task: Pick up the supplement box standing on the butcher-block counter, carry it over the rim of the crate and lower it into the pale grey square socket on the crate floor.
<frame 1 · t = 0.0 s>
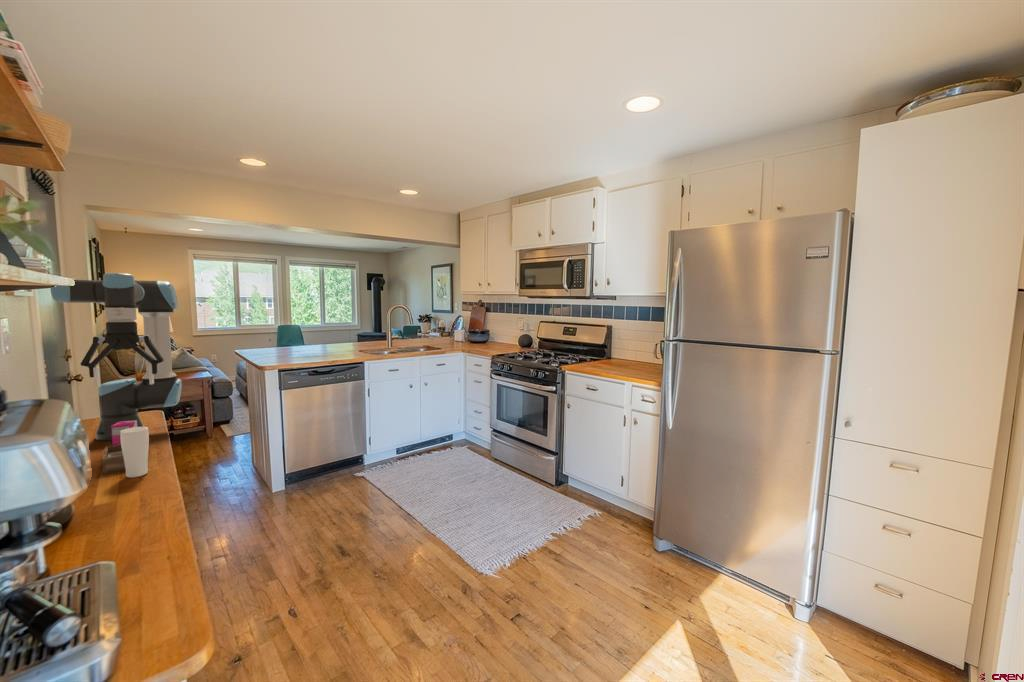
hand: (125, 385, 141), 28 cm above the worktop, tool pointing down, fingers open, 13 cm apart
supplement box: (126, 453, 158), on the worktop
white cup: (137, 475, 138), on the worktop
crate: (126, 463, 147), on the worktop
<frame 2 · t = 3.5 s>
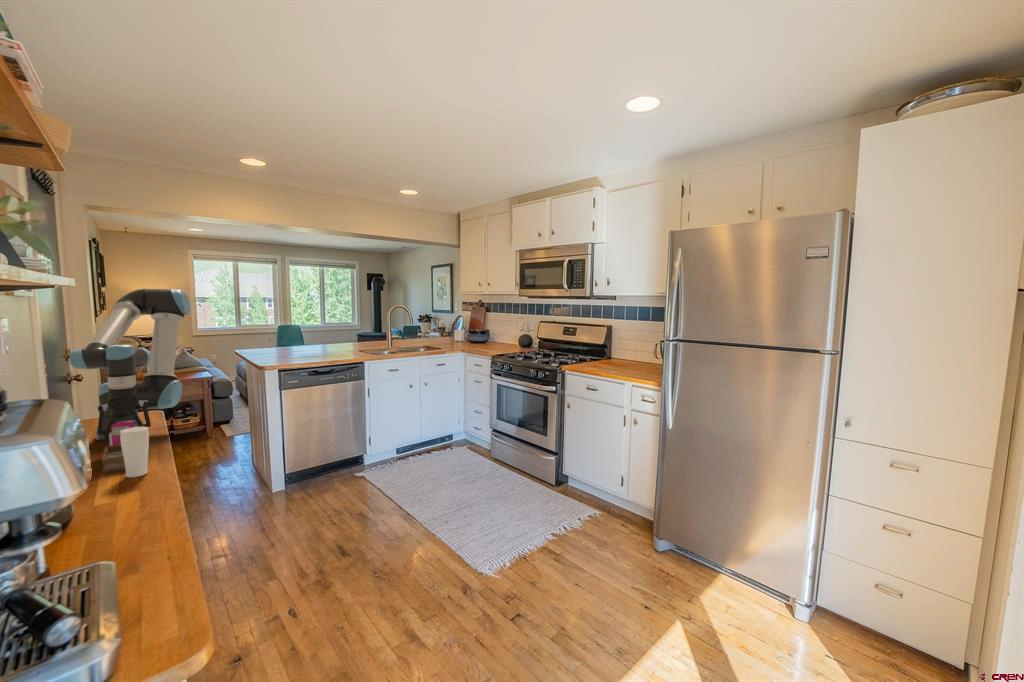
hand: (126, 448, 158), 2 cm above the worktop, tool pointing down, fingers closed on supplement box, 7 cm apart
supplement box: (126, 453, 158), on the worktop, touching gripper
everything else where it was.
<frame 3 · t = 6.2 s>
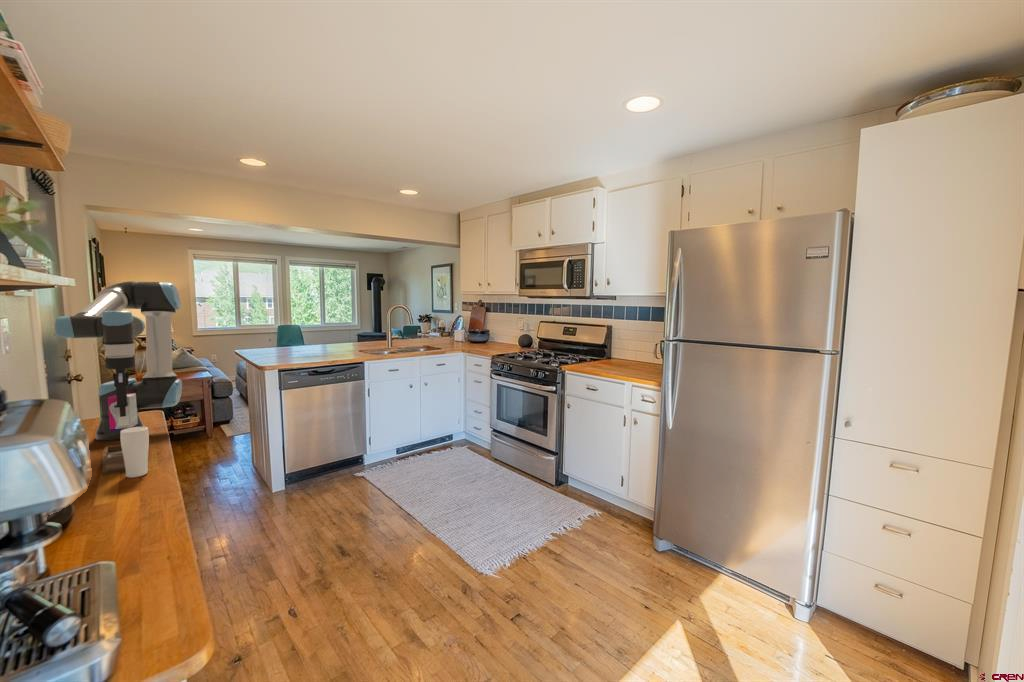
hand: (124, 423, 146), 14 cm above the worktop, tool pointing down, fingers closed on supplement box, 7 cm apart
supplement box: (124, 428, 147), point 12 cm above the worktop, touching gripper
everything else where it was.
when the fingers open (4 cm above the worktop, at t = 8.5 s): supplement box drops 1 cm, resting on crate.
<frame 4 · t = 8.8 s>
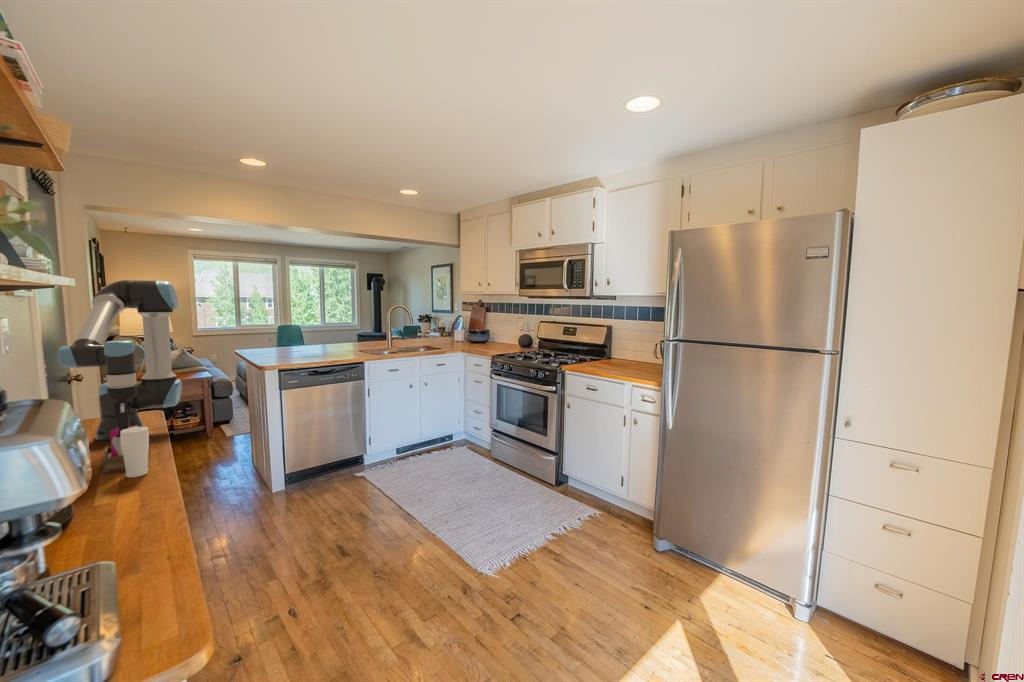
hand: (125, 451, 147), 4 cm above the worktop, tool pointing down, fingers open, 8 cm apart
supplement box: (126, 461, 148), point 1 cm above the worktop, touching crate
everything else where it was.
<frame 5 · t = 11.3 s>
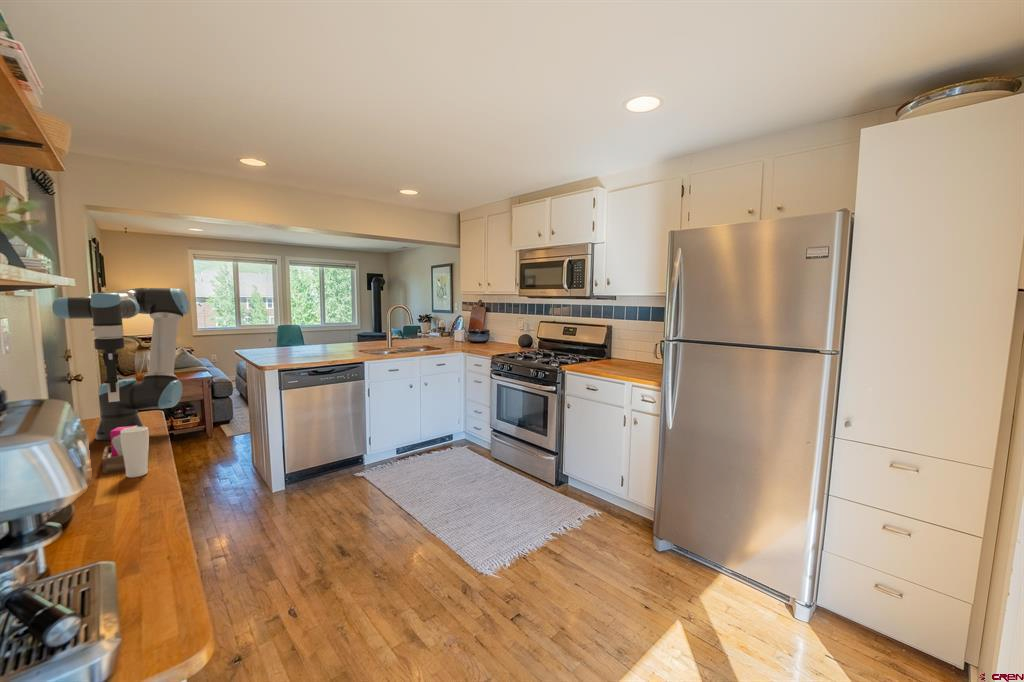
hand: (114, 397, 151), 22 cm above the worktop, tool pointing down, fingers open, 13 cm apart
nothing on the worktop moved.
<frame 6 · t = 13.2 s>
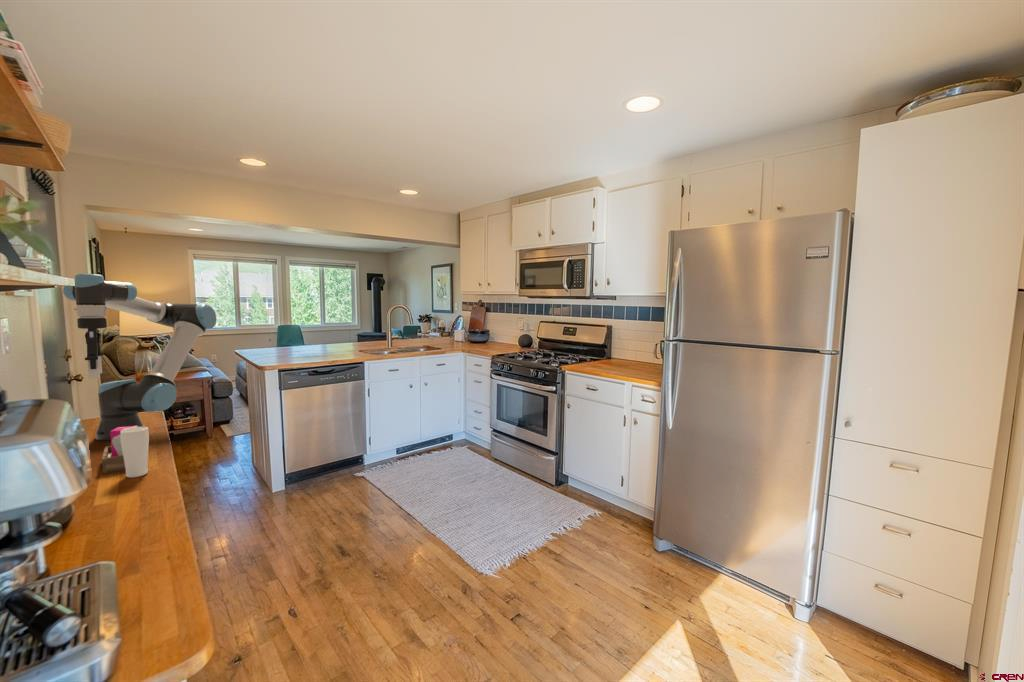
hand: (95, 375, 155), 29 cm above the worktop, tool pointing down, fingers open, 13 cm apart
nothing on the worktop moved.
at the end: supplement box 0.2 cm off-centre on the crate, point 0.8 cm above the crate's base; supplement box tilted 0°; the gripper is holding nothing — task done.
